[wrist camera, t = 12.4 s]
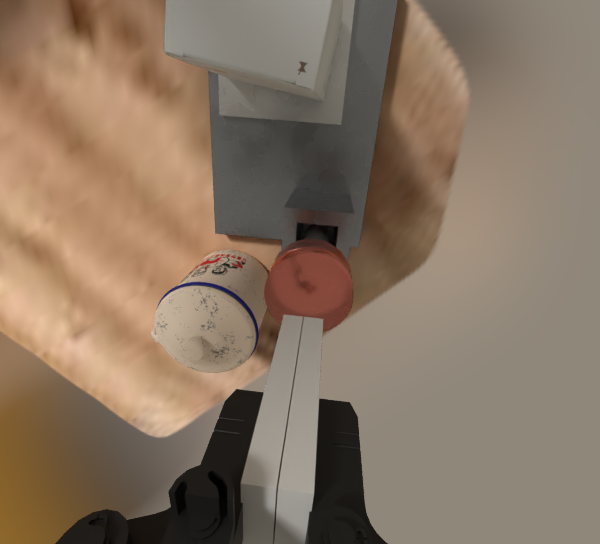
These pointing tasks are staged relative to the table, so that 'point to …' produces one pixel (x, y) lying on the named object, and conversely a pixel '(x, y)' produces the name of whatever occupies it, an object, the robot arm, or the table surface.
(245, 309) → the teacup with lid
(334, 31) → the small box
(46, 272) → the table surface
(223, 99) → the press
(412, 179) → the table surface
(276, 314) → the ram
